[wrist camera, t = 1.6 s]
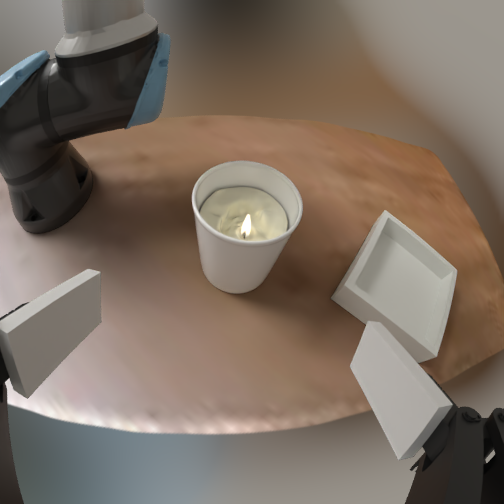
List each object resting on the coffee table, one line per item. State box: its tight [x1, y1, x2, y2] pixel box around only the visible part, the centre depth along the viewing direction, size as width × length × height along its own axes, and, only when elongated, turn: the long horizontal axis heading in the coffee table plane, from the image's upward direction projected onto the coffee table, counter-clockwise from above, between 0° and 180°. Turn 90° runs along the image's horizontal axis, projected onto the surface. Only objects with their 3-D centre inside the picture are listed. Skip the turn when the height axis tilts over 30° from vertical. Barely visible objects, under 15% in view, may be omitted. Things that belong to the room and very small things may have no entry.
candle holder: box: [192, 161, 303, 294], centre depth 29 cm, size 10×10×12 cm
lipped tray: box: [331, 210, 457, 363], centre depth 33 cm, size 16×16×4 cm
